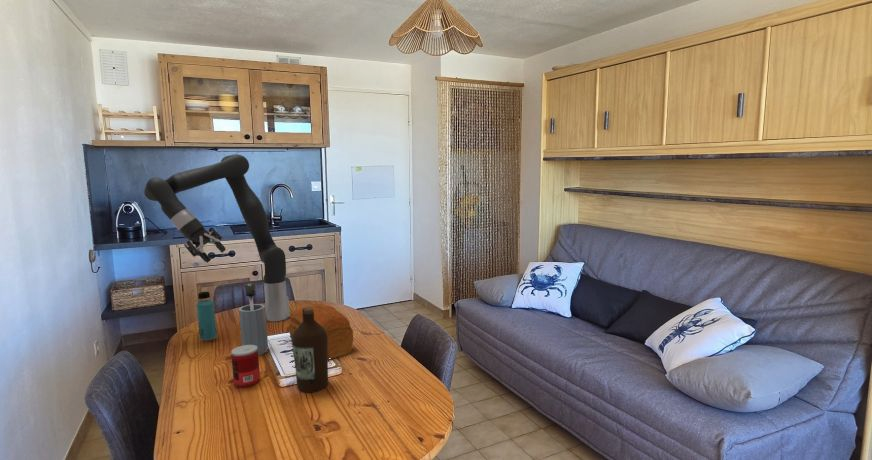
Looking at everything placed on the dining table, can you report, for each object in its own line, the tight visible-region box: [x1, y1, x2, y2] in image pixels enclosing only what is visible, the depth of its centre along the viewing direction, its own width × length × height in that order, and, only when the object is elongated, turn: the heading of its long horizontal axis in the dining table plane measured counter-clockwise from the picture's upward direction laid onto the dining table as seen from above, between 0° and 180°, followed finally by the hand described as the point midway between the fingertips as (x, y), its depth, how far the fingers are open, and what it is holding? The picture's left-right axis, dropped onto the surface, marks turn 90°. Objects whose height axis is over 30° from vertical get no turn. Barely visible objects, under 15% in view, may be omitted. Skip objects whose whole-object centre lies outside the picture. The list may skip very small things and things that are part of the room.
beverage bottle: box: [195, 291, 218, 341], centre depth 188 cm, size 6×7×20 cm
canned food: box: [230, 345, 261, 388], centre depth 152 cm, size 8×8×11 cm
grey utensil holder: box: [238, 303, 269, 357], centre depth 177 cm, size 10×10×17 cm
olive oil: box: [291, 307, 329, 393], centre depth 147 cm, size 11×11×25 cm
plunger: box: [244, 282, 257, 311], centre depth 175 cm, size 6×6×24 cm
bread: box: [288, 303, 354, 359], centre depth 179 cm, size 16×27×16 cm, turn 39°
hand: (216, 256), depth 183 cm, fingers open, 8 cm apart
